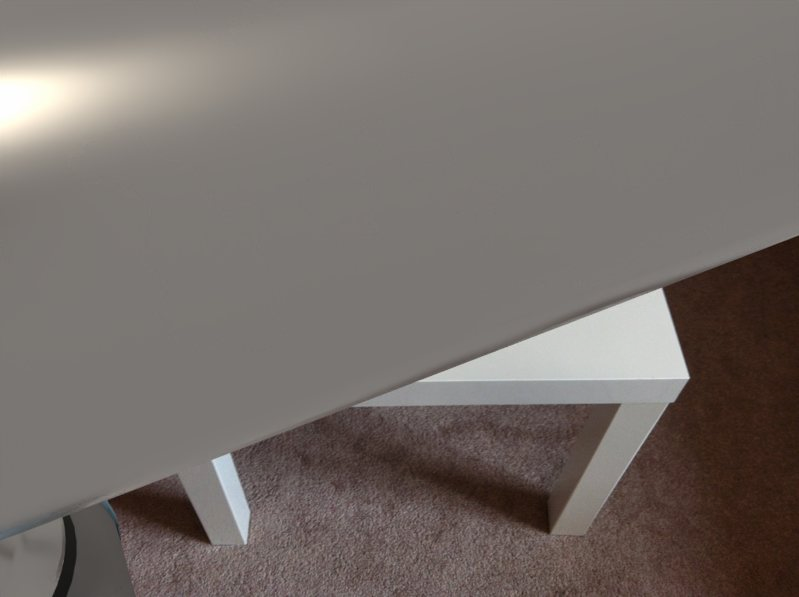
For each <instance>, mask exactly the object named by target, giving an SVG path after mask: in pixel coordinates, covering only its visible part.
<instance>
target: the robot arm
mask: <svg viewBox="0 0 799 597" xmlns="http://www.w3.org/2000/svg"><path fill="white" fill-rule="evenodd" d="M798 236H799V0H0V597H137V596H136V592H135V588H134V585H133V581H132V578H131V573H130V570H129V567H128V563H127V560H126V555H125V553H124V548H123V545H122V533H121V532H122V531H121V529H120V524H119V523H118V522H119V521H118V517H117V515H116V513H115V510H114V509H113V507H112V505H111V504H110V503H109V500H112V499H114V498H117V497H119V496H121V495H124V494H128V493H129V492H133V491H134V490H137V489H140V488H143V487H145V486H147V485H151V484H152V483H156V482H158V481H160V480H164V479H166V478H169V477H171V476H174V475H176V474H179V473H181V472H184V471H187V470H189V469H193V468H195V467H198V466H200V465H202V464H205V463H207V462H210V461H213V460H215V459H218V458H221V457H224V456H227V455H229V454H231V453H234V452H237V451H239V450H242V449H244V448H247V447H250V446H253V445H255V444H257V443H260V442H263V441H265V440H269V439H271V438H273V437H275V436H279V435H281V434H283V433H286V432H290V431H292V430H294V429H297V428H299V427H302V426H305V425H307V424H309V423H313V422H315V421H317V420H320V419H323V418H325V417H328V416H331V415H333V414H337V413H338V412H341V411H343V410H346V409H349V408H352V407H354V406H357V405H360V404H361V403H365V402H367V401H370V400H372V399H375V398H378V397H381V396H382V395H385V394H388V393H391V392H393V391H396V390H398V389H402V388H404V387H406V386H409V385H411V384H414V383H417V382H419V381H422V380H425V379H428V378H430V377H433V376H435V375H438V374H440V373H443V372H446V371H449V370H451V369H454V368H456V367H459V366H461V365H464V364H466V363H470V362H472V361H474V360H476V359H479V358H481V357H484V356H487V355H491V354H493V353H495V352H498V351H500V350H503V349H505V348H508V347H511V346H514V345H516V344H518V343H521V342H524V341H527V340H529V339H532V338H534V337H537V336H539V335H540V336H541V335H542V334H545V333H548V332H550V331H553V330H555V329H558V328H561V327H563V326H566V325H568V324H571V323H573V322H576V321H579V320H581V319H584V318H587V317H589V316H592V315H595V314H598V313H600V312H603V311H605V310H608V309H610V308H613V307H616V306H617V305H620V304H623V303H626V302H628V301H632V300H633V299H636V298H639V297H641V296H644V295H646V294H649V293H653V292H654V291H657V290H660V289H662V288H665V287H667V286H670V285H673V284H675V283H679V282H680V281H683V280H686V279H688V278H691V277H693V276H696V275H699V274H702V273H704V272H707V271H709V270H712V269H715V268H717V267H720V266H722V265H725V264H727V263H731V262H733V261H735V260H738V259H741V258H743V257H746V256H748V255H751V254H753V253H754V254H755V253H756V252H759V251H762V250H764V249H767V248H769V247H772V246H774V245H777V244H780V243H782V242H785V241H788V240H790V239H793V238H795V237H798Z"/></svg>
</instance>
